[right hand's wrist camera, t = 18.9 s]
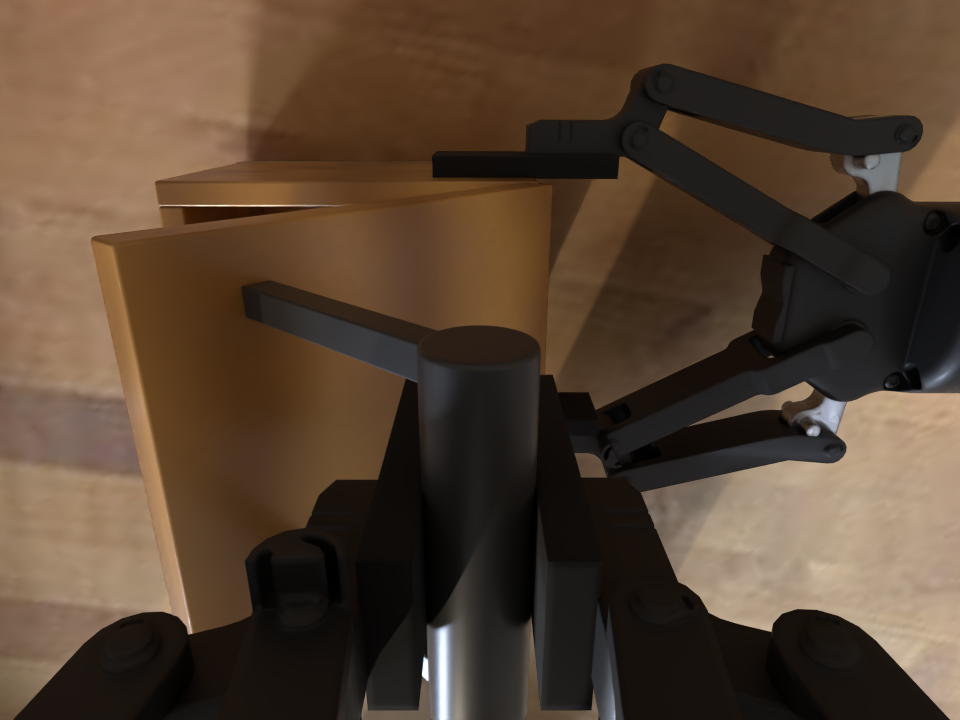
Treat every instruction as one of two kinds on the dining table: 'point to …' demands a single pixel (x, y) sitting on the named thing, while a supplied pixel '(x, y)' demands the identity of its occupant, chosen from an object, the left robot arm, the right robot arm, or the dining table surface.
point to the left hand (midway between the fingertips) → (437, 297)
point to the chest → (299, 187)
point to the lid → (346, 401)
